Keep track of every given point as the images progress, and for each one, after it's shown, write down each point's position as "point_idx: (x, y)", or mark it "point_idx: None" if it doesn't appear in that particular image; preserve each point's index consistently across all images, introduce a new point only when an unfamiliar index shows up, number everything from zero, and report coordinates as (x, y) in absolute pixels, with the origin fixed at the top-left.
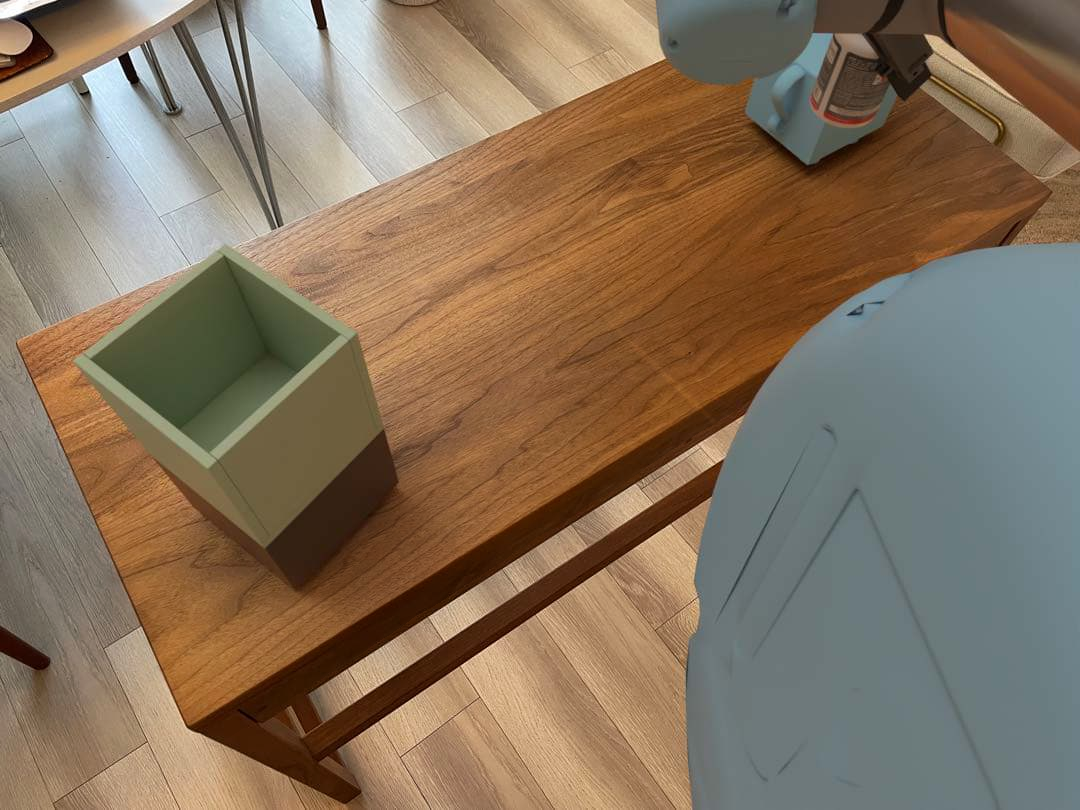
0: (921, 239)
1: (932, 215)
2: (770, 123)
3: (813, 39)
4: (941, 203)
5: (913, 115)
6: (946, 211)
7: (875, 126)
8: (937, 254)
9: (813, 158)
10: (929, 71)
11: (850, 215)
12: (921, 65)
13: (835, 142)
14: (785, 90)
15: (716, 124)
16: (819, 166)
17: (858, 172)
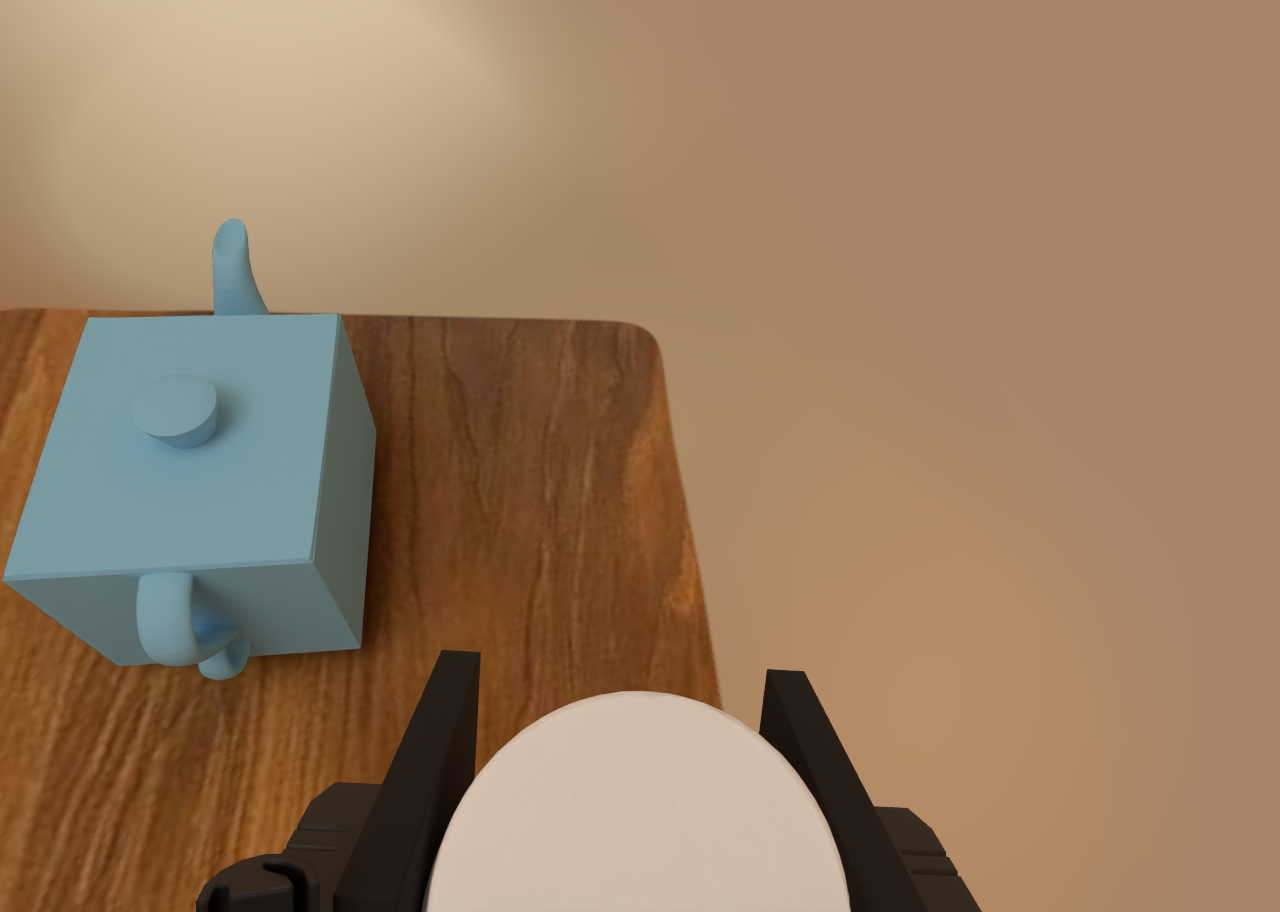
0: (644, 566)
1: (605, 505)
2: (212, 674)
3: (113, 471)
4: (589, 471)
5: (381, 355)
6: (610, 477)
7: (372, 450)
8: (689, 567)
9: (359, 631)
10: (812, 691)
11: (519, 646)
12: (948, 859)
13: (360, 563)
14: (188, 643)
15: (82, 734)
16: (367, 605)
17: (433, 546)
